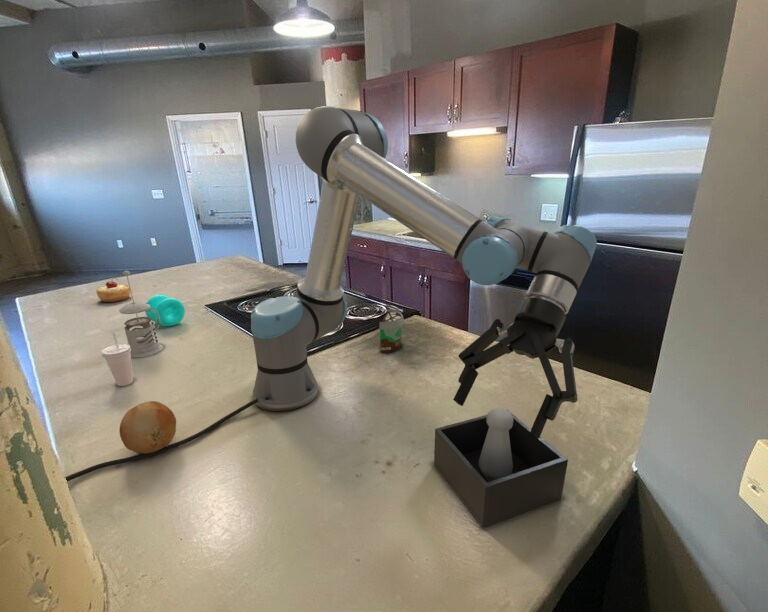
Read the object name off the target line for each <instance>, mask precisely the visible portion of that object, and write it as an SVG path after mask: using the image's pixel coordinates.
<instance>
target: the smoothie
mask: <svg viewBox="0 0 768 612" xmlns="http://www.w3.org/2000/svg"><path fill="white" fill-rule="evenodd" d="M112 336H113V340H114V345H110V346H108V347H107V346H106V347H105V348H103V349H102V350H101V357H103V358H104V359H105V362H106V364H107V366H108V368H109V371H110V372H111V373H110V374H111V375H112V377H113V379H114V381H115V384H116V385H117V386H118V387H125V386H128V385H131V384H132V383H133V382H134V374H133V365H132V357H131V354H130V351H131V347H130V345H129V344H127V343H119V341H118V336H117V335H116V332H115V331H112Z"/></svg>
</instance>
